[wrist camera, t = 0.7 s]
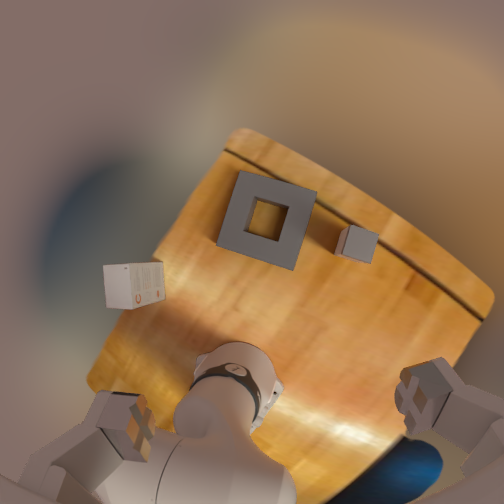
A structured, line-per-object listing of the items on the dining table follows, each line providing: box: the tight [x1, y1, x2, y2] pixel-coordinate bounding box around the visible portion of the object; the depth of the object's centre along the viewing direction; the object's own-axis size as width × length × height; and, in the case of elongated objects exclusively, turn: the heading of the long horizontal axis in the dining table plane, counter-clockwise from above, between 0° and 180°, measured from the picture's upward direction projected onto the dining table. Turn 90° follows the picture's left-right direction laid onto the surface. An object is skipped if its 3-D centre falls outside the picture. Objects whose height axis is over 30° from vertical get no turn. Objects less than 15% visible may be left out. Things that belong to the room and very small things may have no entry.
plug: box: [334, 225, 379, 264], centre depth 48 cm, size 5×5×12 cm
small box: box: [103, 262, 165, 310], centre depth 54 cm, size 8×6×13 cm
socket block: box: [216, 170, 317, 271], centre depth 54 cm, size 15×15×4 cm
